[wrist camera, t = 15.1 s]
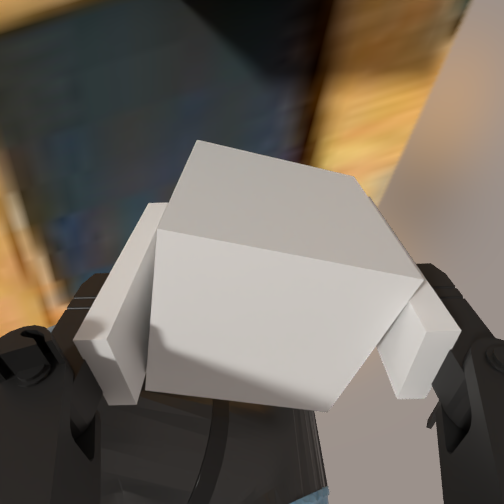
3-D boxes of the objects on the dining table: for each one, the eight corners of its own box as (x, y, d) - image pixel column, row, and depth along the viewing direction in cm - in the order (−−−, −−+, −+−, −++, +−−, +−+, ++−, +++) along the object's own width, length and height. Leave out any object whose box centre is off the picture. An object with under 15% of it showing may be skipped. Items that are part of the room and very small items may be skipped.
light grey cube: (196, 139, 11) (156, 227, 6) (354, 175, 12) (425, 278, 7) (179, 269, 15) (144, 392, 10) (303, 290, 15) (328, 413, 11)
